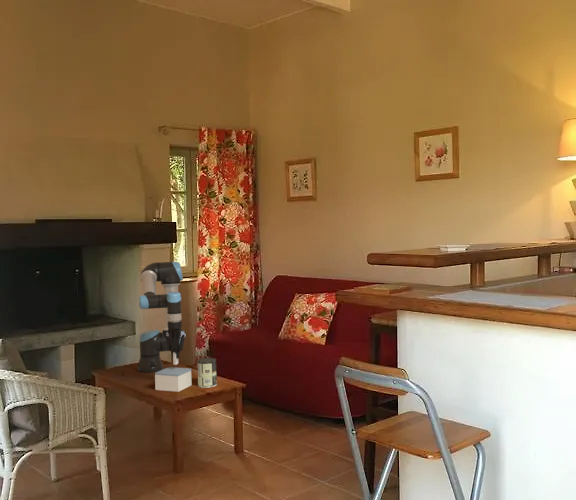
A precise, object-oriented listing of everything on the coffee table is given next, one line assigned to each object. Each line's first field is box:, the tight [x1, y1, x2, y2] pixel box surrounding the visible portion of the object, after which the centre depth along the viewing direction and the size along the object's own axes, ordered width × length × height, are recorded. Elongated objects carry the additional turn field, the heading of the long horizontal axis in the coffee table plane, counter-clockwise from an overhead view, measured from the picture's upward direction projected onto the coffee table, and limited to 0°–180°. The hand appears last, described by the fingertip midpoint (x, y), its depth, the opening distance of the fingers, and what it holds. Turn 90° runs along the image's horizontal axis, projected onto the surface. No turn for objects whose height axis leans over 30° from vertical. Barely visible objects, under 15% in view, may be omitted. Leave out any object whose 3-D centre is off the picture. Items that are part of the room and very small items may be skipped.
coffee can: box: [196, 357, 218, 389], centre depth 352 cm, size 10×10×14 cm
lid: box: [154, 366, 192, 376], centre depth 349 cm, size 14×14×1 cm
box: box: [154, 370, 192, 392], centre depth 349 cm, size 14×14×8 cm
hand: (175, 364), depth 352 cm, fingers closed
